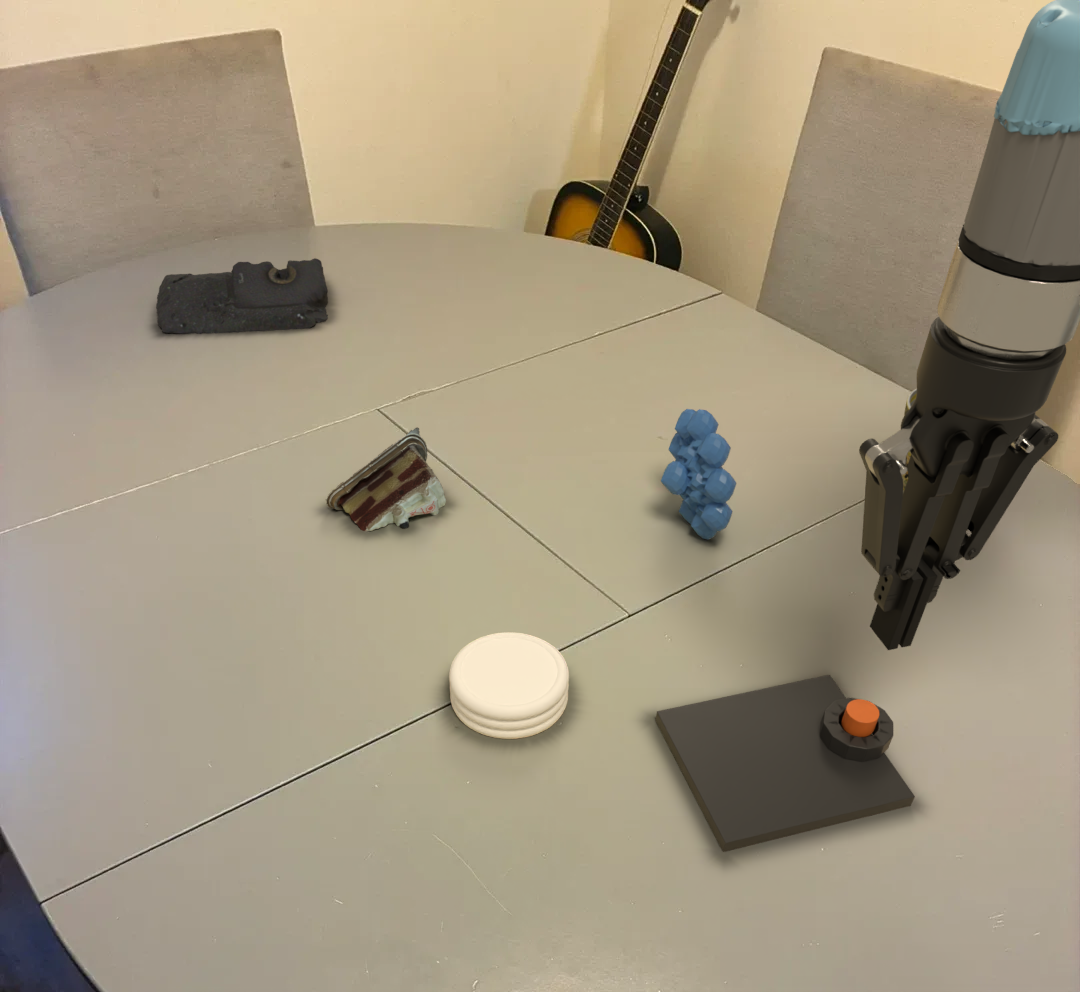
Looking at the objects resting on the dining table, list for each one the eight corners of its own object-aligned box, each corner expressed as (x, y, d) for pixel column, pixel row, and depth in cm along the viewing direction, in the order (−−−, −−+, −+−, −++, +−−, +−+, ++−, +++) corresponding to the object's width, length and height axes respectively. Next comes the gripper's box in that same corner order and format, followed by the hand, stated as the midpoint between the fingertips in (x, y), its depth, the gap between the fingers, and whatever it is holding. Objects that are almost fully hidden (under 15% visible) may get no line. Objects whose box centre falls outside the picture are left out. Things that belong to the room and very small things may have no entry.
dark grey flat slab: (839, 682, 90) (847, 658, 88) (924, 804, 81) (935, 779, 79) (654, 722, 86) (658, 697, 84) (722, 854, 77) (728, 830, 75)
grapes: (632, 498, 108) (643, 394, 100) (691, 487, 110) (707, 384, 101) (677, 564, 101) (693, 458, 92) (739, 552, 102) (761, 446, 94)
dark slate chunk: (164, 285, 140) (155, 250, 136) (328, 277, 143) (324, 242, 139) (154, 339, 130) (144, 302, 126) (330, 329, 132) (325, 292, 129)
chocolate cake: (353, 553, 102) (433, 466, 98) (318, 503, 104) (395, 415, 100) (408, 569, 110) (484, 489, 106) (374, 522, 112) (447, 442, 108)
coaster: (440, 734, 85) (437, 705, 82) (462, 652, 92) (461, 623, 89) (560, 748, 84) (561, 719, 82) (574, 664, 91) (575, 635, 88)
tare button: (864, 711, 84) (869, 696, 83) (880, 733, 82) (885, 718, 81) (835, 717, 84) (840, 702, 82) (851, 740, 82) (856, 725, 81)
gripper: (1060, 287, 62) (942, 588, 80) (863, 312, 60) (784, 619, 77) (1143, 345, 58) (998, 652, 75) (933, 376, 55) (832, 688, 72)
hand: (890, 635), depth 76 cm, fingers closed
